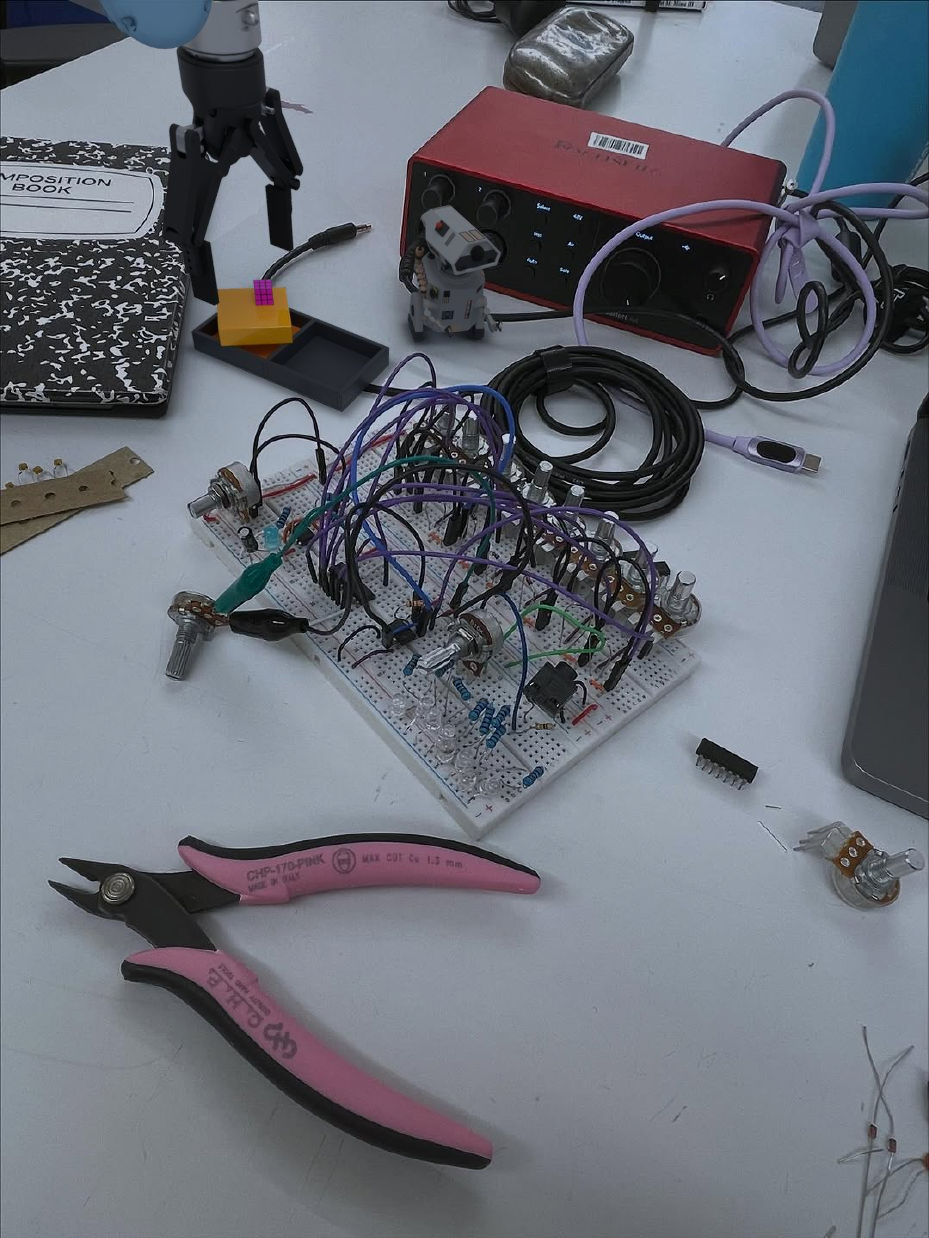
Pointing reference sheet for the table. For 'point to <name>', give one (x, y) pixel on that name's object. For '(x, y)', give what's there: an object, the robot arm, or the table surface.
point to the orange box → (254, 315)
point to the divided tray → (305, 358)
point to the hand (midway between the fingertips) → (246, 272)
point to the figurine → (452, 276)
